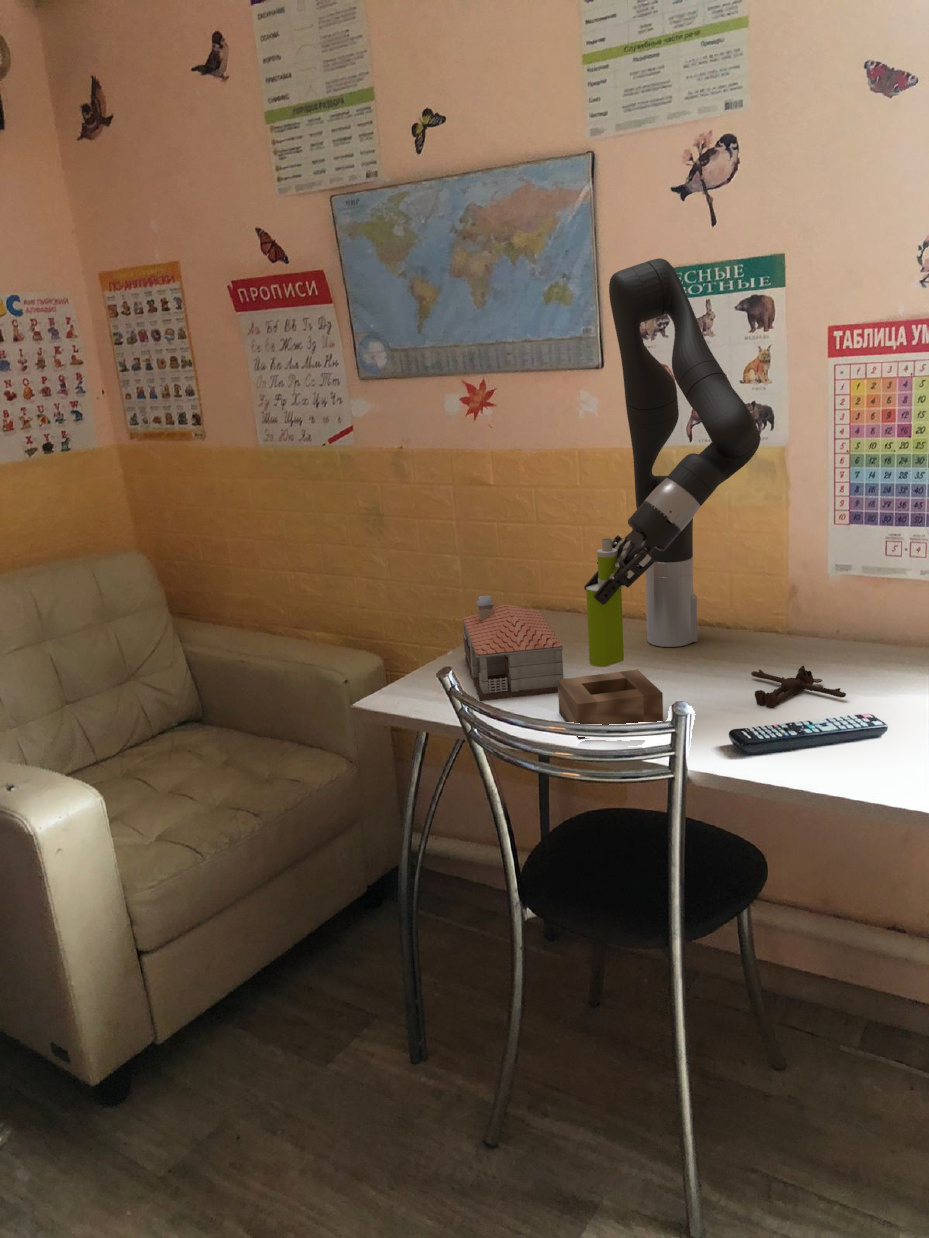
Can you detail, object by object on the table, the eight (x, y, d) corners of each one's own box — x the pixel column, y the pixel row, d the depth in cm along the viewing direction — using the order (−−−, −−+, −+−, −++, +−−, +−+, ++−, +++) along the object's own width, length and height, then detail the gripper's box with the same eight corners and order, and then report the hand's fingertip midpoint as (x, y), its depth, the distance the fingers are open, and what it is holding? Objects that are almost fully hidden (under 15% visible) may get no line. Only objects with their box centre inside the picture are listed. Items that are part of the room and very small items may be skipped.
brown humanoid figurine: (717, 680, 177) (766, 650, 185) (719, 702, 178) (767, 672, 186) (812, 704, 163) (860, 671, 172) (813, 728, 165) (860, 694, 173)
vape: (628, 659, 167) (624, 538, 162) (601, 668, 164) (596, 545, 158) (612, 654, 170) (607, 535, 165) (585, 663, 167) (580, 542, 161)
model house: (463, 660, 205) (458, 588, 201) (541, 653, 207) (537, 580, 202) (478, 702, 183) (472, 621, 178) (564, 693, 184) (561, 612, 180)
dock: (638, 702, 176) (637, 669, 175) (663, 728, 165) (662, 693, 163) (559, 712, 174) (557, 679, 173) (578, 739, 163) (577, 704, 161)
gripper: (632, 492, 168) (564, 572, 169) (663, 506, 154) (588, 593, 156) (664, 521, 170) (597, 600, 172) (697, 537, 156) (623, 622, 158)
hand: (593, 596), depth 164 cm, fingers closed on vape, 5 cm apart
